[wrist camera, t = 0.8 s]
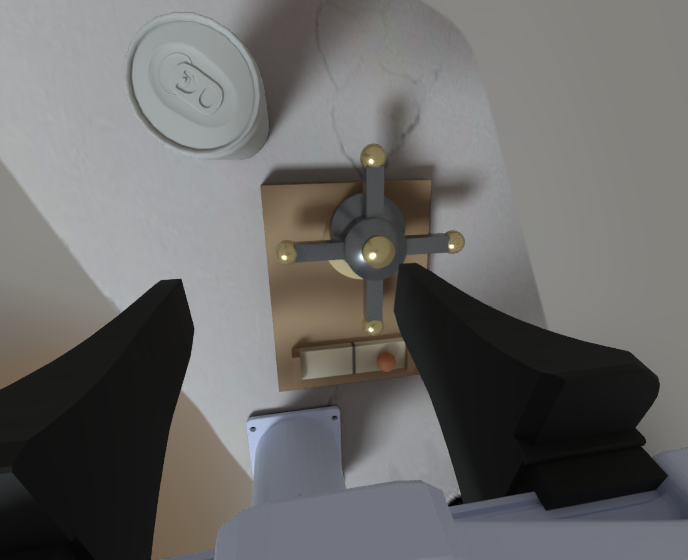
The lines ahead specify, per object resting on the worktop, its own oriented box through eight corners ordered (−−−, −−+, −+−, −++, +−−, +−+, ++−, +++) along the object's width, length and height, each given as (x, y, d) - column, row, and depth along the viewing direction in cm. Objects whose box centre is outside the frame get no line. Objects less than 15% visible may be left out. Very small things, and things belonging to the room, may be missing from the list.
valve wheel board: (415, 364, 32) (431, 389, 29) (279, 381, 30) (279, 409, 27) (423, 179, 27) (444, 181, 24) (261, 184, 25) (258, 187, 22)
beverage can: (218, 64, 23) (162, -31, 12) (283, 114, 24) (289, 73, 13) (180, 131, 24) (92, 102, 12) (245, 175, 25) (220, 186, 14)
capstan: (443, 314, 29) (467, 335, 25) (281, 330, 27) (282, 355, 23) (455, 143, 25) (485, 140, 21) (266, 146, 23) (264, 143, 19)
